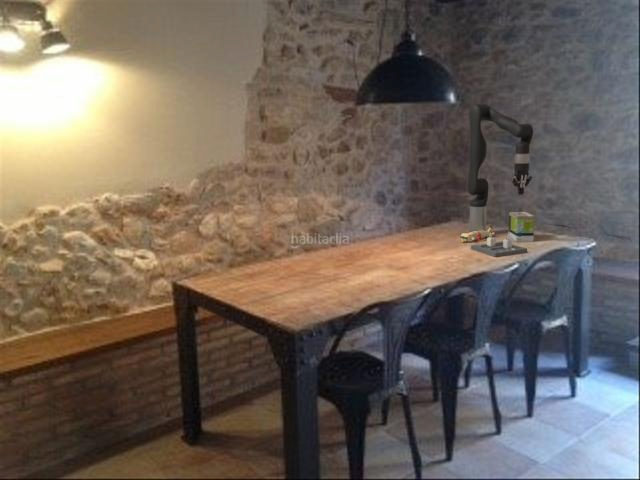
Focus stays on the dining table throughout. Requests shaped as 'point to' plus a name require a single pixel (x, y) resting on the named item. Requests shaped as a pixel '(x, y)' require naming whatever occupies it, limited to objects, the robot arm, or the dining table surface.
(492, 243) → the cream fader
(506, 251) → the grey slotted board
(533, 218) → the tea box
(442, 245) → the dining table surface
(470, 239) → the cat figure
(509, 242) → the grey fader
